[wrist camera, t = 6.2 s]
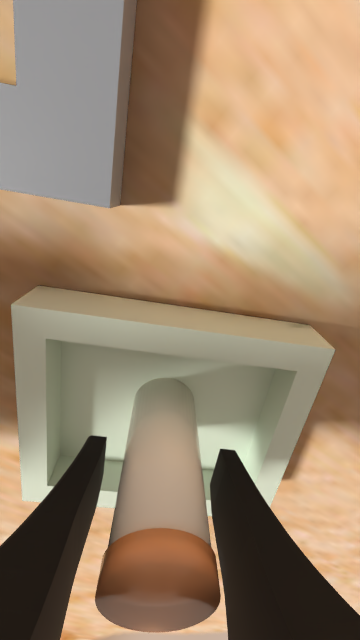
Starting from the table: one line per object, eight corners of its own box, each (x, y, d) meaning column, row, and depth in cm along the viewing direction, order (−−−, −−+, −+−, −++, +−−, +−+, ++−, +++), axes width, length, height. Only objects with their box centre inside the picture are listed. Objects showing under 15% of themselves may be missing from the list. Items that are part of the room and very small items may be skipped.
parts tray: (41, 460, 17) (22, 500, 15) (38, 285, 13) (10, 304, 11) (252, 480, 18) (264, 520, 16) (309, 324, 14) (335, 349, 12)
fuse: (132, 427, 15) (98, 632, 8) (131, 374, 14) (91, 563, 7) (193, 429, 16) (213, 631, 8) (199, 377, 14) (227, 563, 7)
